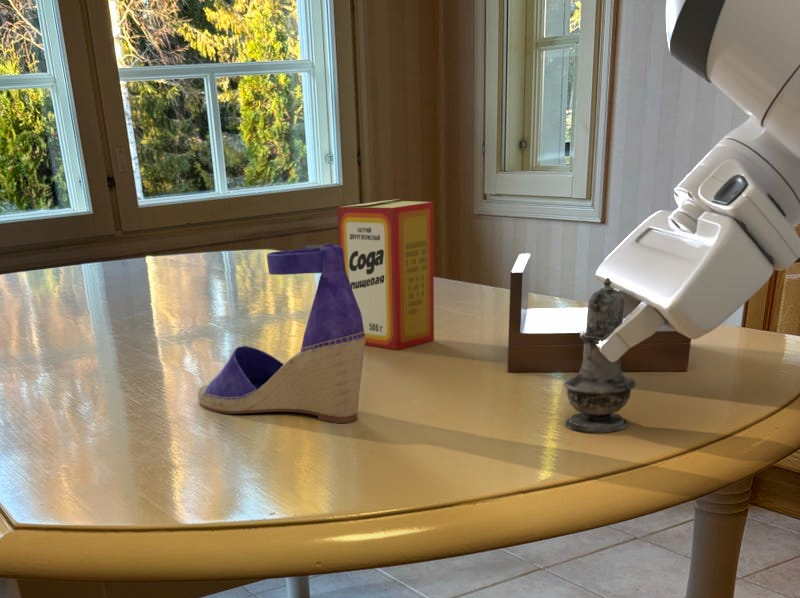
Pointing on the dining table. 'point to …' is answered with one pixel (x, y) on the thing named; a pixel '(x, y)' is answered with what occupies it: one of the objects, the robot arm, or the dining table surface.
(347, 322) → the sandal
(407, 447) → the dining table surface
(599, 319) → the salt shaker
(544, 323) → the wooden bookend
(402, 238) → the baking soda box
